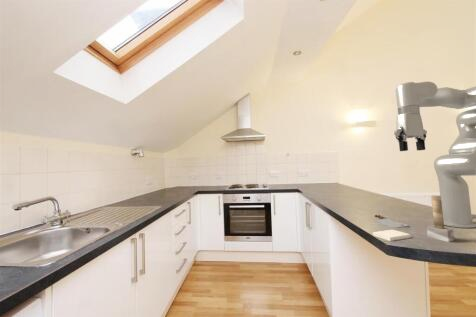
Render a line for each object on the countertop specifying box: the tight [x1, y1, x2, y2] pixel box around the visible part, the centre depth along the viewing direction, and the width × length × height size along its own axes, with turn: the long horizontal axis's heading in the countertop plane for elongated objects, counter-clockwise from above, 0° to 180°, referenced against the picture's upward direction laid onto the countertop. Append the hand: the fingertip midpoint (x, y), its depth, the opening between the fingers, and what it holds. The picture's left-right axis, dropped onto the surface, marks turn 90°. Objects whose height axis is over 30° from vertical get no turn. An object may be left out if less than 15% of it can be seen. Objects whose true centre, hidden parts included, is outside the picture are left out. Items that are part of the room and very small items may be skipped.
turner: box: [426, 194, 455, 243], centre depth 84 cm, size 3×7×16 cm, turn 15°
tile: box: [372, 228, 412, 242], centre depth 89 cm, size 2×8×10 cm
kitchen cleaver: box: [374, 214, 409, 229], centre depth 112 cm, size 24×1×10 cm
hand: (412, 150), depth 96 cm, fingers open, 9 cm apart
